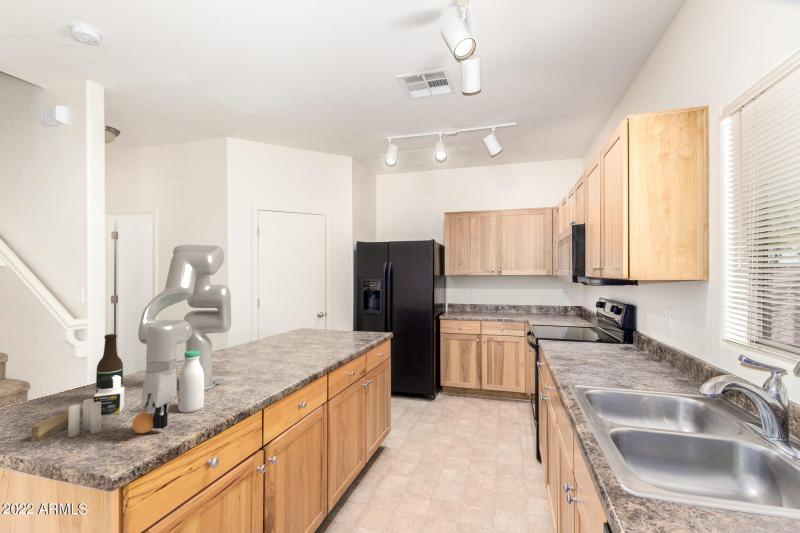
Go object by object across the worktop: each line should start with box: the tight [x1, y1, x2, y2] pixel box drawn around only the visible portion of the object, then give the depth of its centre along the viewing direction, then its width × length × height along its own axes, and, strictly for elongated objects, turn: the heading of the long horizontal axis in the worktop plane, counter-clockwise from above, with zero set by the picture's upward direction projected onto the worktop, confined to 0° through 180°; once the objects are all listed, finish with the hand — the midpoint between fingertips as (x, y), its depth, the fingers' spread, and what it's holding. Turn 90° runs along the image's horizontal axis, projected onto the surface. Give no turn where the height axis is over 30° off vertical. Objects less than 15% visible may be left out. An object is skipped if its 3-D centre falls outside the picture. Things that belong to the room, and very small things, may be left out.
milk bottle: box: [177, 350, 205, 413], centre depth 128 cm, size 8×8×20 cm
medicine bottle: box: [93, 375, 125, 417], centre depth 125 cm, size 7×7×12 cm
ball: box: [132, 411, 154, 434], centre depth 109 cm, size 6×6×6 cm
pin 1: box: [67, 404, 81, 438], centre depth 107 cm, size 2×2×8 cm
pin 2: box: [82, 398, 94, 431], centre depth 112 cm, size 2×2×8 cm
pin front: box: [89, 402, 102, 435], centre depth 110 cm, size 2×2×8 cm
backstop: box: [31, 410, 69, 442], centre depth 109 cm, size 2×12×4 cm, turn 1°
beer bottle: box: [95, 333, 124, 394], centre depth 137 cm, size 8×8×24 cm
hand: (160, 427), depth 109 cm, fingers closed
